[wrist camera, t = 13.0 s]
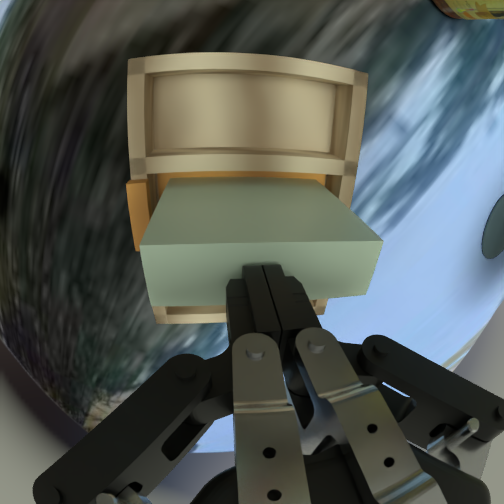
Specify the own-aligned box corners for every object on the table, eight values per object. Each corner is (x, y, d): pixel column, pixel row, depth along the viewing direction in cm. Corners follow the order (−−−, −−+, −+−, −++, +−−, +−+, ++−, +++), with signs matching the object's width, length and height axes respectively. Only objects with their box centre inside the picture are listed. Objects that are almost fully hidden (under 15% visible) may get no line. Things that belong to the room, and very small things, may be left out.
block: (172, 219, 19) (151, 306, 11) (170, 177, 17) (139, 245, 10) (309, 217, 20) (365, 294, 13) (315, 179, 19) (383, 241, 11)
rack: (156, 300, 24) (150, 334, 20) (136, 60, 14) (115, 51, 10) (315, 293, 26) (330, 324, 22) (350, 71, 16) (382, 68, 12)
